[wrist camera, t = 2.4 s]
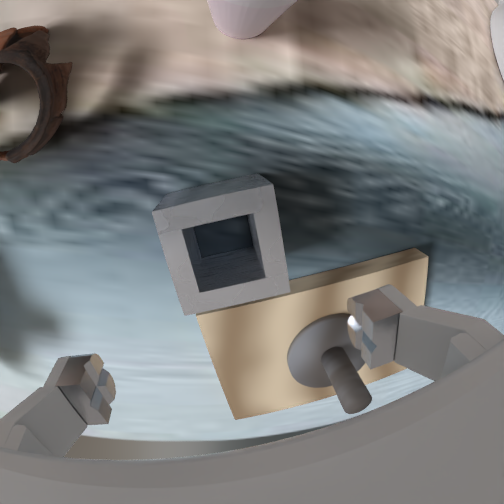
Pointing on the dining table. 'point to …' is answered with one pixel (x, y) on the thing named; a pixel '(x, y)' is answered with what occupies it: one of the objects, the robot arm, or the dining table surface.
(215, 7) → the smoothie
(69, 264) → the dining table surface
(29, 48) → the brown hollow curved piece
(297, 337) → the post block
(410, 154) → the dining table surface
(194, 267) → the grey hollow square block
